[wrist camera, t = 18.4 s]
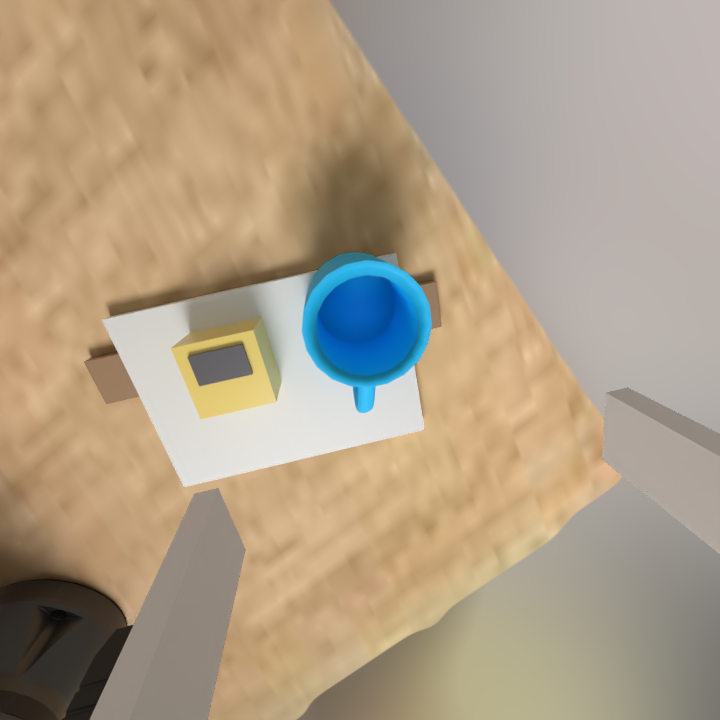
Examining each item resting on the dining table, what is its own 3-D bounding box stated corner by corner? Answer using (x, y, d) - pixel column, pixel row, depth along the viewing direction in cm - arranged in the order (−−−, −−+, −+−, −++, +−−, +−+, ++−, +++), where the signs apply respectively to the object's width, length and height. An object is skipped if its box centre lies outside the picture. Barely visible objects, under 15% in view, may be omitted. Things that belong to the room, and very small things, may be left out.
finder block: (215, 396, 31) (199, 421, 27) (189, 332, 29) (168, 349, 25) (281, 381, 31) (276, 404, 27) (261, 317, 29) (252, 331, 25)
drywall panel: (158, 486, 35) (153, 494, 34) (73, 324, 29) (63, 328, 28) (449, 416, 36) (454, 422, 35) (428, 245, 30) (432, 245, 28)
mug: (302, 253, 28) (295, 262, 20) (404, 250, 28) (435, 257, 21) (312, 391, 32) (310, 441, 24) (401, 385, 33) (426, 432, 25)
